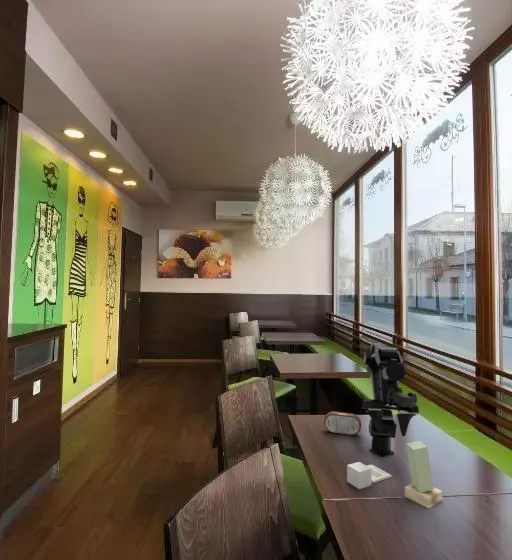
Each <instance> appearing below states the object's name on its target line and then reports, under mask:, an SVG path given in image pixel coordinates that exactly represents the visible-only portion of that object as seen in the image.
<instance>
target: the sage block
mask: <svg viewBox="0 0 512 560" xmlns="http://www.w3.org/2000/svg"><path fill="white" fill-rule="evenodd" d="M405 445H406V451H407V456H408V457H407V459H408V464H409V465H408V466H409V471H410V475H411V476H410V477H411V481H412V482H411V484H413V486H414V487H415V488H416V489H417V490H418V491H419V492H420V493H422V492H426V491H431V490H434V488H435V487H434V482H433V476H432V470H431V464H430V463H431V462H430V458H429V452H428V451H429V450H428V446H427V445H425V444H424V443H422V442H421V441H420V440H418V441H412V442H407V443H406V444H405ZM433 487H434V488H433Z"/></svg>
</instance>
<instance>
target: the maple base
mask: <svg viewBox="0 0 512 560" xmlns="http://www.w3.org/2000/svg"><path fill="white" fill-rule="evenodd" d="M433 488H434V490H431V491H426V492H422V493H420V492H419V491H418V490H417V489H416V488H415V487H414V486H413V484H412V483H410V484H408V485H406V486H404V497H405V498H407V499H409V500H411V501H414V502H415V503H417V504H419V505H421V506H423V507H424V508H427V509H430V508H432V507H433V506H436V505H438V504H439V503H441V502H442V501H443V490H441V489H439V488H436V487H434V486H433Z"/></svg>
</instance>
